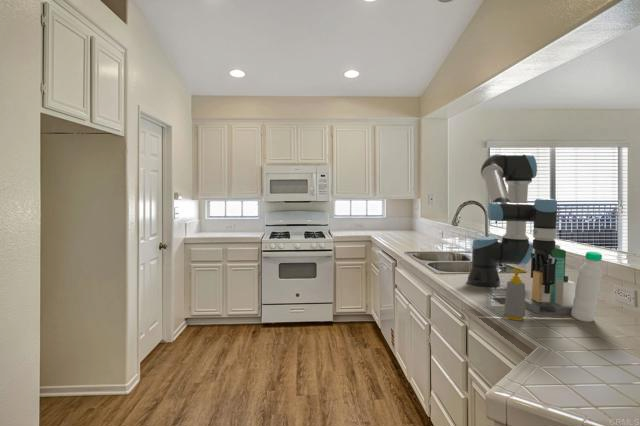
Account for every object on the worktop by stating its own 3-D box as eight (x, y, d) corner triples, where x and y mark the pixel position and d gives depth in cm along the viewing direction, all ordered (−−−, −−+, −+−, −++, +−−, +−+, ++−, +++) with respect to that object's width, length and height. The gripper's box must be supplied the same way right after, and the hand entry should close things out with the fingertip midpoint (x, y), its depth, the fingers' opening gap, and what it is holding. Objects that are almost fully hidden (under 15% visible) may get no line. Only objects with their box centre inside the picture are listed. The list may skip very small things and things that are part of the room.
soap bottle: (518, 322, 137) (520, 271, 136) (500, 316, 142) (502, 268, 141) (529, 319, 140) (531, 270, 139) (510, 313, 146) (513, 266, 145)
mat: (490, 299, 166) (490, 297, 166) (513, 299, 166) (513, 298, 166) (501, 305, 156) (501, 304, 156) (525, 306, 156) (526, 304, 156)
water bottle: (588, 324, 137) (601, 257, 131) (567, 316, 142) (578, 252, 137) (597, 319, 141) (610, 254, 135) (575, 311, 146) (587, 248, 141)
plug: (543, 298, 151) (545, 265, 150) (550, 302, 147) (551, 268, 146) (531, 298, 151) (533, 265, 150) (538, 301, 147) (539, 267, 146)
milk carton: (563, 306, 157) (566, 245, 156) (538, 304, 159) (541, 244, 158) (555, 300, 166) (558, 242, 164) (532, 298, 168) (534, 241, 167)
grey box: (524, 308, 154) (525, 273, 153) (577, 308, 154) (579, 274, 153) (536, 315, 145) (538, 278, 144) (593, 316, 145) (595, 279, 144)
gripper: (522, 236, 156) (519, 293, 158) (547, 242, 139) (544, 306, 140) (541, 236, 156) (538, 293, 158) (568, 242, 139) (565, 306, 140)
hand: (541, 299), depth 149 cm, fingers closed on plug, 4 cm apart
